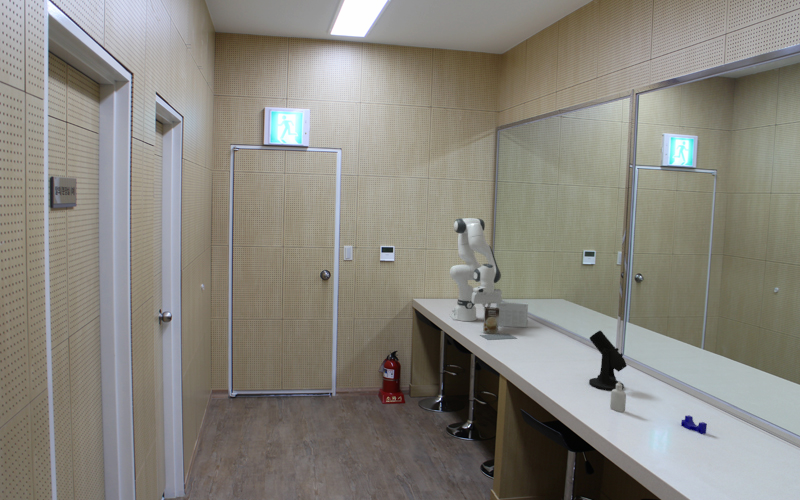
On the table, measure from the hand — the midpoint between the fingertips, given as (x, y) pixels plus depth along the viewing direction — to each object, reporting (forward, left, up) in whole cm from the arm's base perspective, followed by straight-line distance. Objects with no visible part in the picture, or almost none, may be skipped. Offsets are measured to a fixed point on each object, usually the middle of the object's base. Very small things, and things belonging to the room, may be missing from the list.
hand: (486, 310), depth 350 cm
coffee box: (+8, 0, -13) cm, 15 cm away
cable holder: (+160, +9, -14) cm, 161 cm away
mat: (+19, 0, -13) cm, 23 cm away
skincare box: (-8, +23, -13) cm, 28 cm away
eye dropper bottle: (+138, -7, -13) cm, 138 cm away
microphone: (+111, +8, -13) cm, 112 cm away
